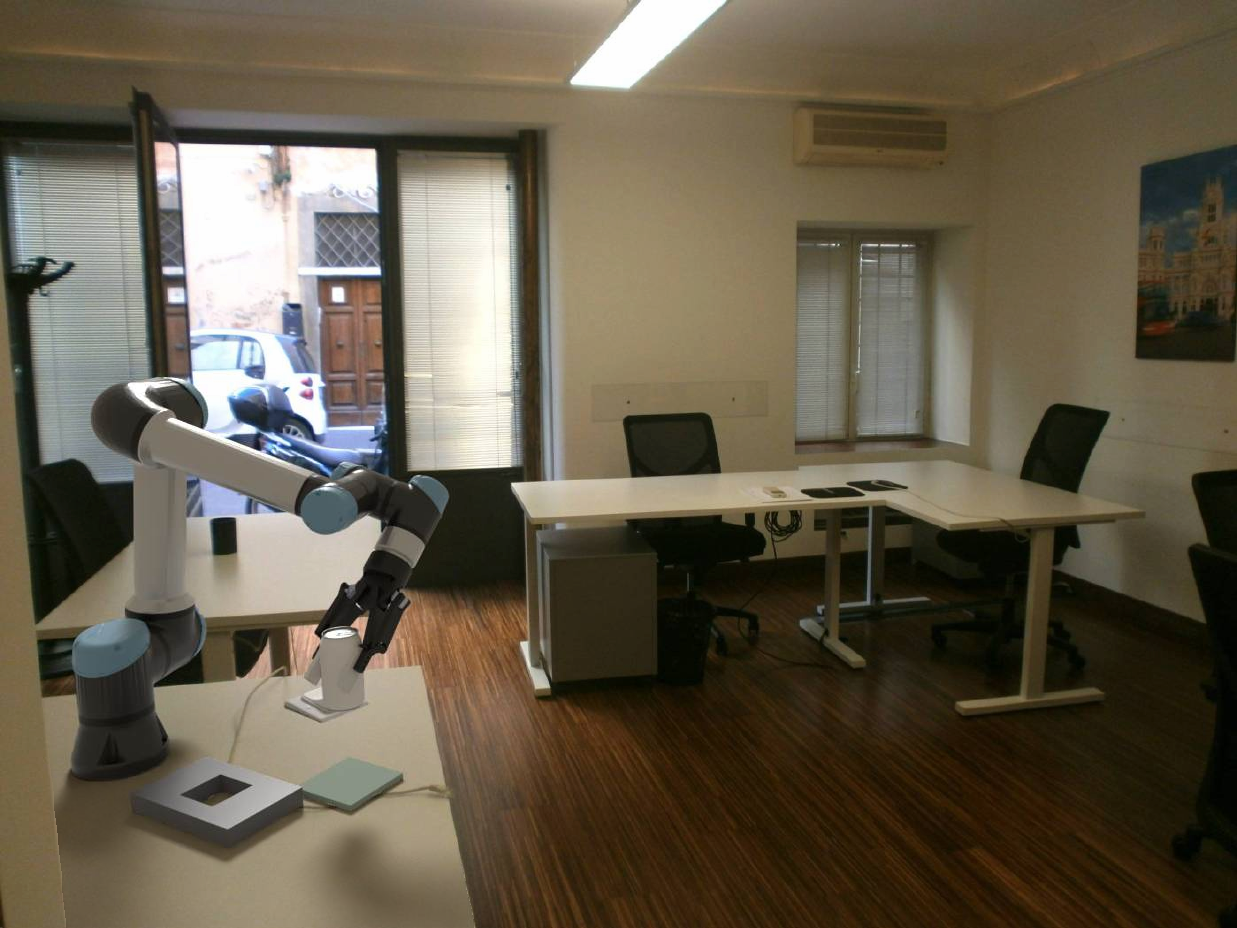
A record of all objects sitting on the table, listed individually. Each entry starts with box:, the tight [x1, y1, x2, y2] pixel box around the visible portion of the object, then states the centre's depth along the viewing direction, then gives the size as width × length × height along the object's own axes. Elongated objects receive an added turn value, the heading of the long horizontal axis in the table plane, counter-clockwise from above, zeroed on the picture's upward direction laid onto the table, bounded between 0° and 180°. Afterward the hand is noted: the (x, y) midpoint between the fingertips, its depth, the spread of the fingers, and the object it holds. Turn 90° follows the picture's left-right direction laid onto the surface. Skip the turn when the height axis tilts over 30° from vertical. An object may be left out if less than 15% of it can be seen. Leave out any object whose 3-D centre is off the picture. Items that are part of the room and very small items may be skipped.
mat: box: [298, 756, 404, 813], centre depth 157 cm, size 12×12×1 cm
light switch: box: [283, 686, 370, 723], centre depth 189 cm, size 11×4×13 cm
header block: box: [129, 756, 304, 849], centre depth 150 cm, size 22×14×3 cm, turn 61°
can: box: [319, 626, 366, 711], centre depth 154 cm, size 6×6×12 cm
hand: (326, 685), depth 151 cm, fingers closed on can, 6 cm apart
